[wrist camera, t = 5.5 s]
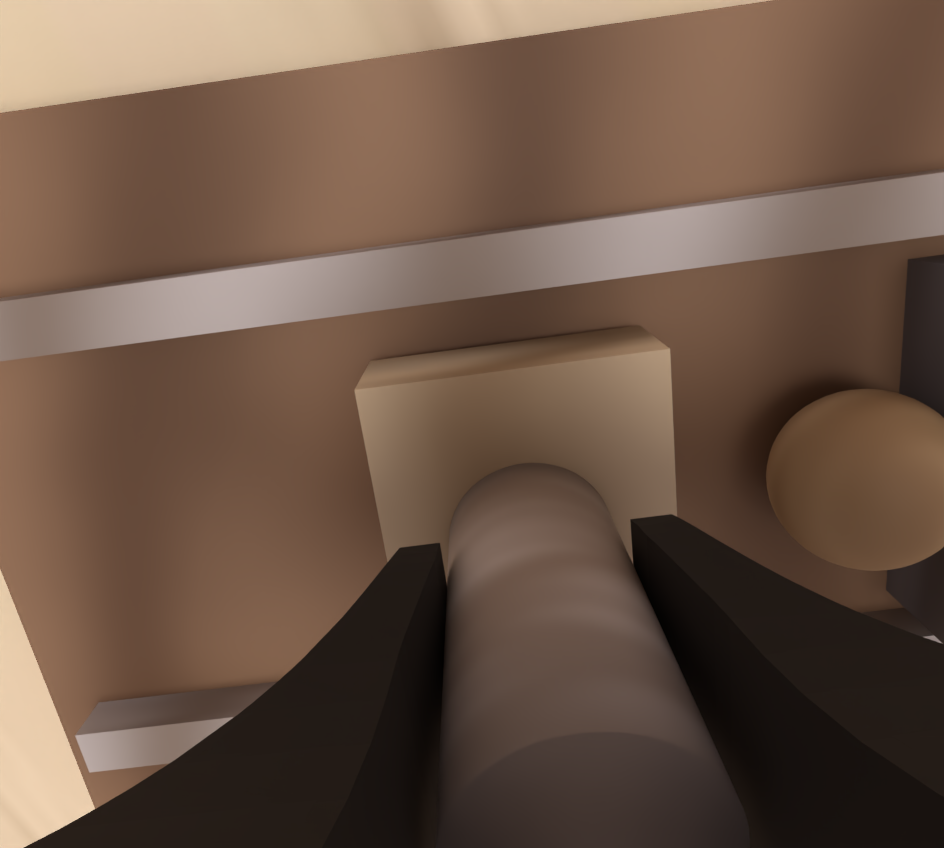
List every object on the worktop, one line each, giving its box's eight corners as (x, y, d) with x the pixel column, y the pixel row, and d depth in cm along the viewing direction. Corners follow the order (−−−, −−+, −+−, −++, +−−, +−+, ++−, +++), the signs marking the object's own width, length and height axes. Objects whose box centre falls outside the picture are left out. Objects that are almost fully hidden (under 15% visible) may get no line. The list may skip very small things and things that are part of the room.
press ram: (639, 325, 13) (897, 522, 5) (655, 605, 15) (859, 1051, 7) (370, 360, 13) (238, 602, 5) (419, 633, 15) (374, 1098, 7)
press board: (1069, -27, 13) (1400, -145, 8) (981, 694, 18) (1155, 864, 13) (-103, 143, 13) (-387, 119, 9) (135, 790, 18) (30, 982, 14)
